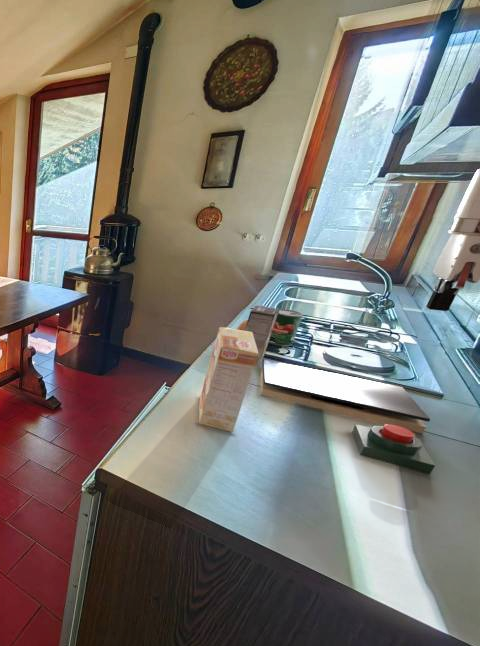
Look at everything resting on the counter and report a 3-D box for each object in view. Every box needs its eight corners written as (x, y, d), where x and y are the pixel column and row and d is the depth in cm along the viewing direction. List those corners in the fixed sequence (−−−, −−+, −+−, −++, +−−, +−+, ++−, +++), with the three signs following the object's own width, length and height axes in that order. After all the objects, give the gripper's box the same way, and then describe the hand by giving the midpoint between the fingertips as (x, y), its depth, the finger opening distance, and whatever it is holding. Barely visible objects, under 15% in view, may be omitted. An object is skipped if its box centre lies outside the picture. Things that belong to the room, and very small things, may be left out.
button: (407, 436, 80) (411, 428, 79) (413, 446, 77) (417, 439, 76) (378, 428, 82) (381, 421, 82) (383, 439, 79) (386, 431, 78)
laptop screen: (428, 422, 86) (430, 419, 86) (263, 384, 102) (264, 381, 101) (401, 389, 102) (402, 386, 102) (262, 361, 118) (263, 359, 118)
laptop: (422, 433, 87) (426, 426, 86) (260, 394, 103) (262, 388, 102) (397, 395, 103) (401, 389, 102) (260, 366, 119) (262, 361, 118)
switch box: (414, 448, 82) (423, 432, 81) (429, 474, 75) (440, 458, 73) (351, 432, 87) (358, 417, 86) (359, 455, 80) (368, 439, 78)
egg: (256, 344, 135) (264, 319, 132) (253, 349, 131) (262, 324, 127) (233, 339, 139) (241, 315, 136) (230, 344, 135) (238, 319, 131)
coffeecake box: (199, 396, 102) (218, 326, 94) (231, 403, 99) (254, 331, 91) (197, 424, 90) (219, 346, 82) (233, 433, 87) (260, 353, 79)
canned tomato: (267, 344, 136) (277, 314, 131) (262, 336, 142) (272, 307, 138) (294, 347, 133) (306, 317, 128) (289, 340, 139) (299, 310, 135)
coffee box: (241, 350, 130) (255, 304, 124) (264, 356, 126) (280, 308, 120) (235, 359, 124) (250, 310, 117) (259, 364, 120) (276, 315, 113)
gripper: (522, 231, 76) (474, 320, 83) (486, 225, 87) (447, 304, 95) (465, 229, 80) (424, 314, 87) (438, 224, 91) (404, 299, 98)
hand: (436, 309), depth 91 cm, fingers closed
